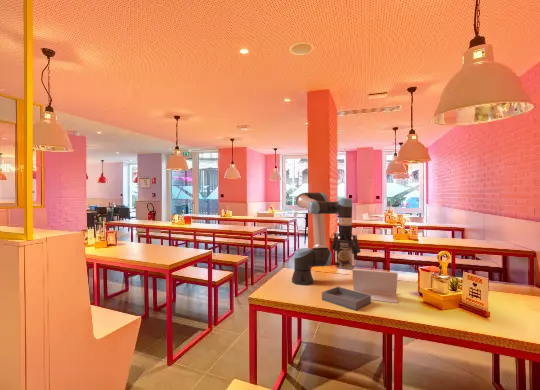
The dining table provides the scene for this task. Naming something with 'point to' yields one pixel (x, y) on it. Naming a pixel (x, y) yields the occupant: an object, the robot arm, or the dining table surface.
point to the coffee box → (344, 255)
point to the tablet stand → (376, 284)
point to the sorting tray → (346, 298)
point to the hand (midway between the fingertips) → (345, 263)
